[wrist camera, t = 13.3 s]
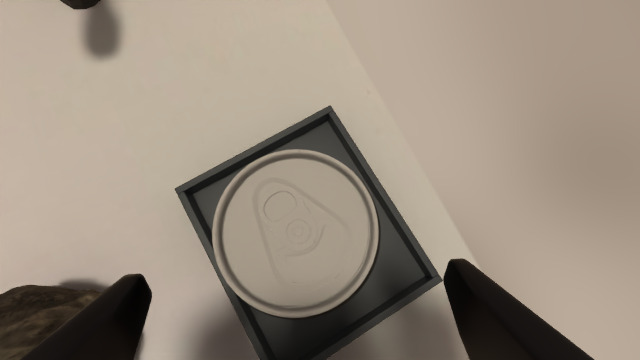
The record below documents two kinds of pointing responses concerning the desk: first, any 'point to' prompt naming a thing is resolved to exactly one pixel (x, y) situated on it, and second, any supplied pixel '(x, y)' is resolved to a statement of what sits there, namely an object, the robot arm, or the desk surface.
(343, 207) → the beverage can
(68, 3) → the robot
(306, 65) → the desk surface
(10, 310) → the rock
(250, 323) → the serving tray
